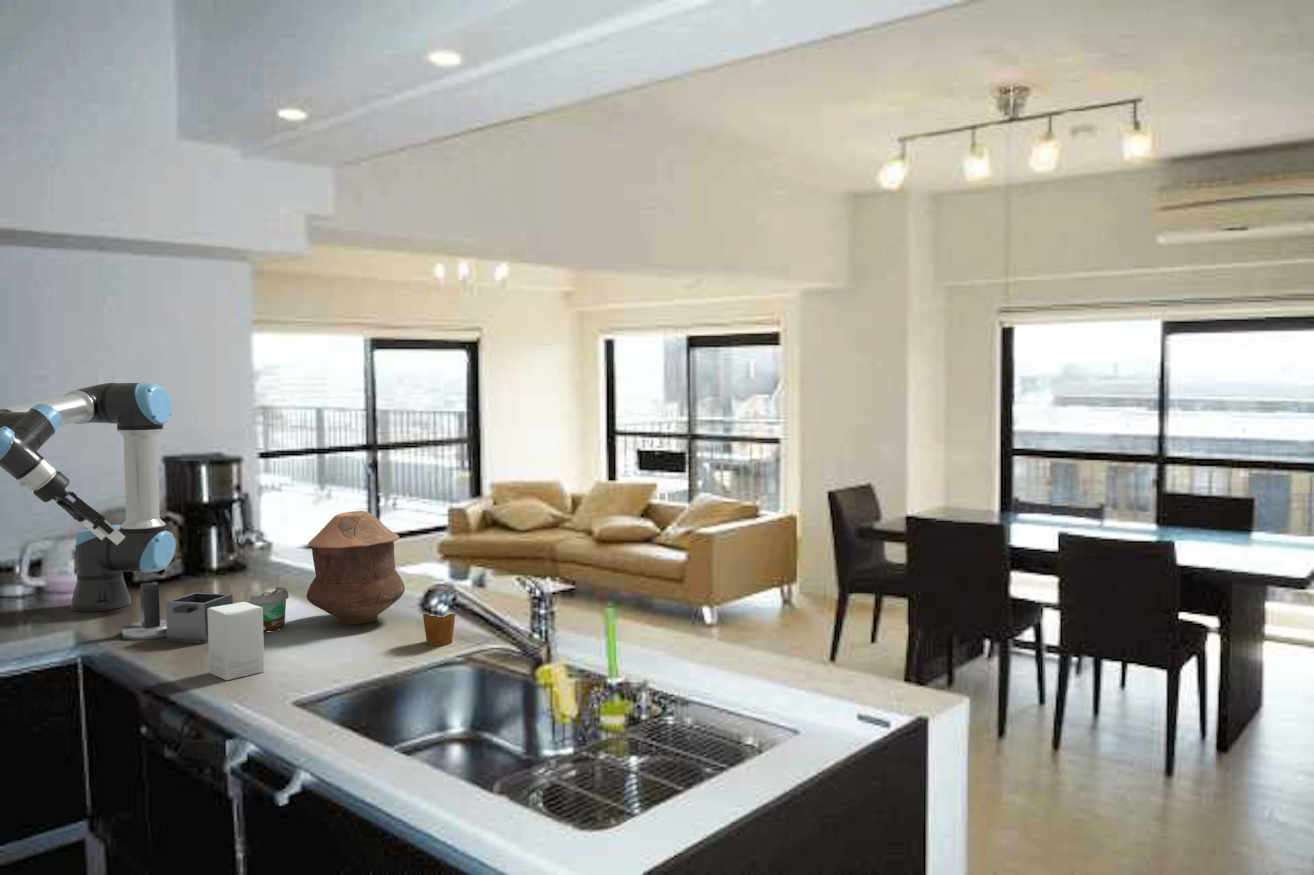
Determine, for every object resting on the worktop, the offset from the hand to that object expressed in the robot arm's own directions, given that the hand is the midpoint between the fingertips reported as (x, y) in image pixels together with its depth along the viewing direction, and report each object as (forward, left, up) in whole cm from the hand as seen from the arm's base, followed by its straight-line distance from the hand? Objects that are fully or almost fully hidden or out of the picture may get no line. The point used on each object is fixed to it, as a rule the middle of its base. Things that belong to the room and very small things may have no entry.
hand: (113, 538), depth 246 cm
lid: (-6, +5, -26) cm, 27 cm away
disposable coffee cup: (-14, +82, -26) cm, 87 cm away
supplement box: (+19, +48, -26) cm, 58 cm away
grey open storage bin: (-6, +20, -26) cm, 33 cm away
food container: (-17, +34, -26) cm, 46 cm away
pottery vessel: (-29, +51, -26) cm, 64 cm away
